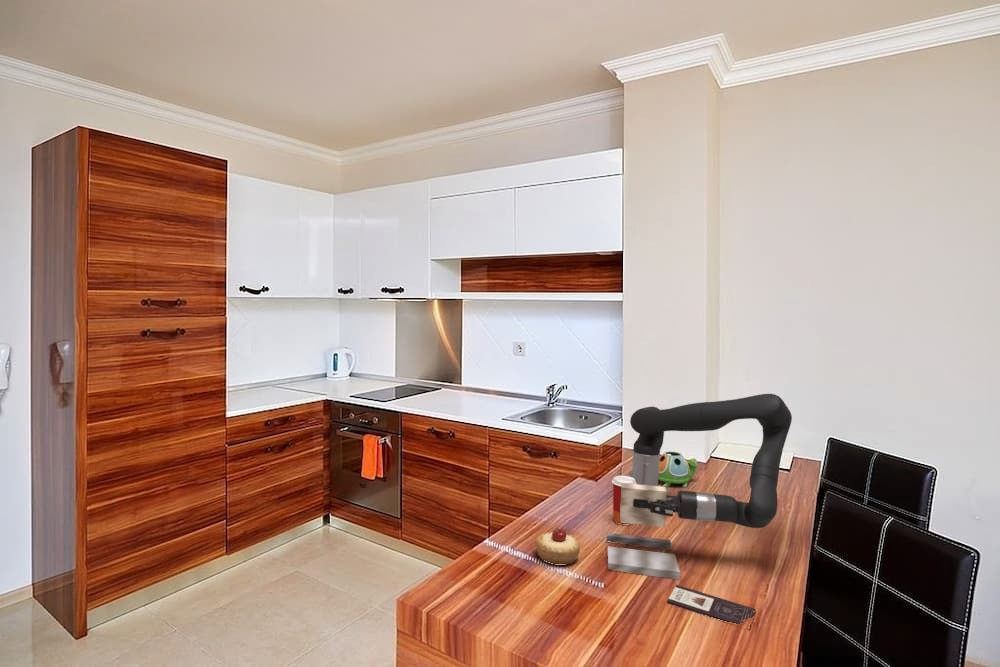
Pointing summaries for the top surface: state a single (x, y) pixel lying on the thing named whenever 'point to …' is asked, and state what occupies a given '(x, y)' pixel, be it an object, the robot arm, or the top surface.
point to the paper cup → (619, 495)
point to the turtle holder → (675, 468)
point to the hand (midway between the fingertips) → (633, 500)
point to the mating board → (642, 557)
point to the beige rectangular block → (641, 514)
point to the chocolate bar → (709, 605)
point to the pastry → (557, 547)
